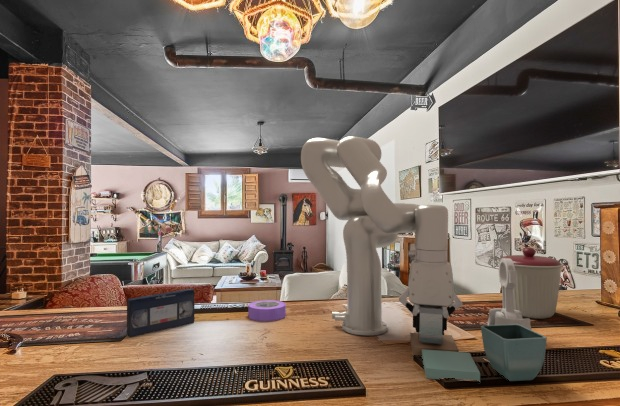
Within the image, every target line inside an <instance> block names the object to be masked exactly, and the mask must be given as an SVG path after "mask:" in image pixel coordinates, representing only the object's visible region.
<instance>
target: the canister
mask: <svg viewBox="0 0 620 406" xmlns="http://www.w3.org/2000/svg"><path fill="white" fill-rule="evenodd" d="M502 258H510V259H512V261H513V263H514V266H515V271H516V284H515V287H514V288H513V295H514V310H519V311H520V312H521V313H522V318H525V319H526V318H529V319H535V320H536V319H540V320H541V319H548V318H552V317H553V316H554V314H555V313H556V310H557V305H558V300H559V299H558V298H559V292H560V284H561V283H560V281H561V273H562V268H564V267H565V264H564V263H562V262H560V261H559V260H557V259H556V258H553V257H548V256H542V255H536V250H535V248H533V247H530V246H529V247H526V246H525V247H524V248H523V249H522V254H513V255H510V254H509V255H504V256H502V257H501V258H498V259H497V260H496V262H497V263H498V264H499V263H500V260H501V259H502Z"/></svg>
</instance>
